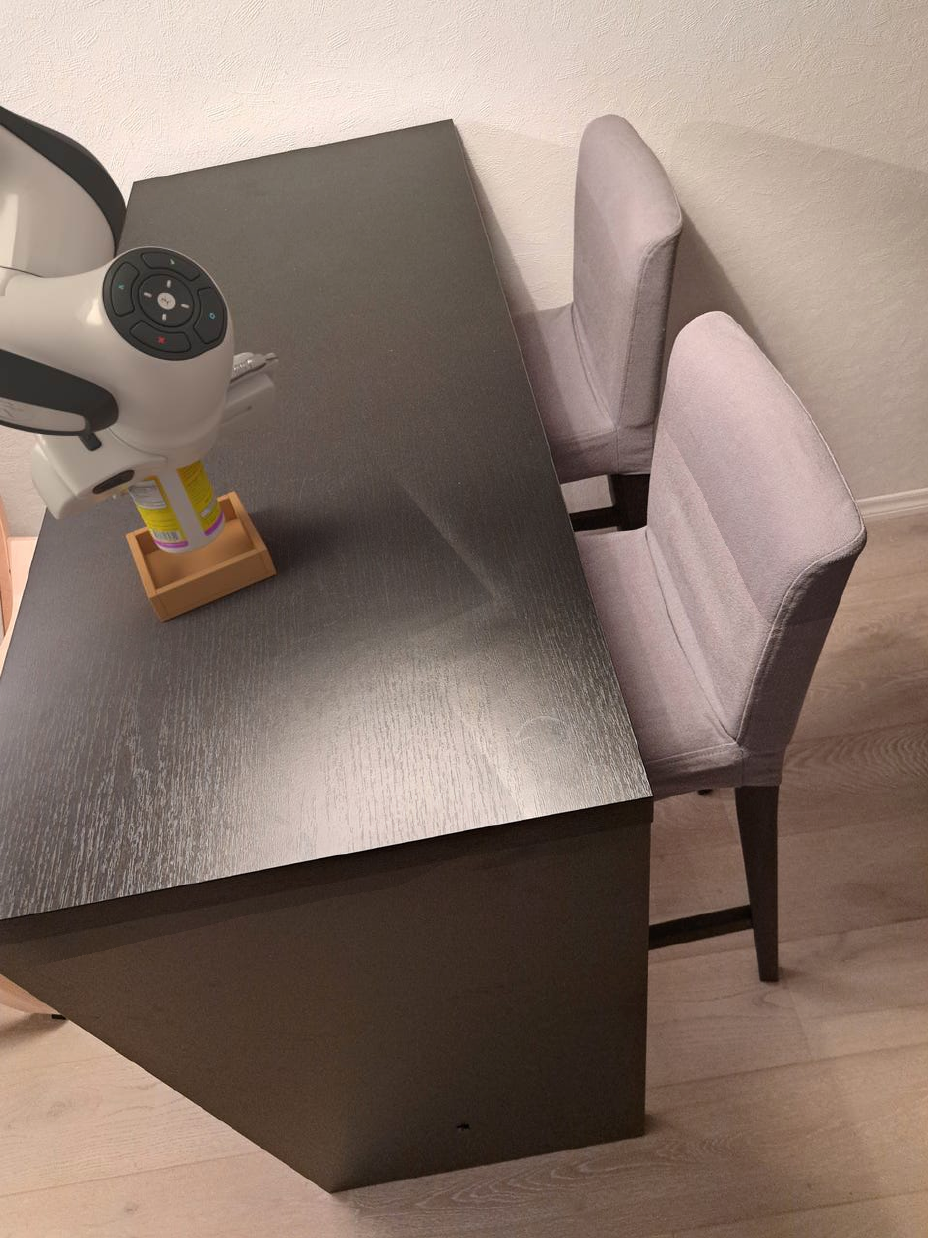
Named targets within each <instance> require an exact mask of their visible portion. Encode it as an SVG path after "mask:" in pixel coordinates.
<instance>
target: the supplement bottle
mask: <svg viewBox="0 0 928 1238" xmlns="http://www.w3.org/2000/svg"><path fill="white" fill-rule="evenodd" d="M130 487H131V489H130V490H131V492H129V494H130V496H131V498H132V500H133V502H134V504H135V506H136V508H137V510H138V512H139V514H140V516H141V518H142V520H143V522H144V523H145V525H146V526H147V528H148V530H149V532H150V534H151V536H152V537H153V539H154V541H155V543H156V544H157V546H158V547H159V548H161V549H162V550H164V551H166V552H168V553H173V554H183V553H189V552H193V551H196V550H198V549H201V548H203V547H205V546H207V545H208V544H210V543H211V542H213V541H214V540H215V539H216V538H217V537H218V536H219V535H220V534H221V532H222V530H223V528H224V525H225V517H224V514H223V512H222V509H221V507H220V504H219V502H218V500H217V498H218V497H217V495H216V493H215V491H214V488H213V486H212V484H211V481H210V479H209V476H208V474H207V472H206V470H205V467H204V465H203V462H202V461H201V459H199V460H198V461H196V462H194V463H193V464H190V465H188V466H185V467H182V468H178V469H172V470H163V471H161V472H159V473H156V474H154V475H152V476H150V477H148V478H146V479H144V480H142V481H140V482H138V483H136V484H134V485H132V486H130ZM146 526H145V527H146Z"/></svg>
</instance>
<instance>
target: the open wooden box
mask: <svg viewBox="0 0 928 1238" xmlns="http://www.w3.org/2000/svg"><path fill="white" fill-rule="evenodd" d="M216 498H217V500H218V502H219V504H220V507H221V509H222V512H223V514H224V517H225V525H224V528H223V530H222V532H221V534H220V535H219V536H218V537H217V538H216V539H215V540H214V541H213V542H211V543H210V544H208V545H207V546H205V547H203V548H201V549H198V550H196V551H193V552H189V553H183V554H173V553H168V552H166V551H164V550H162V549H161V548H159V547H158V546H157V544H156V543H155V541H154V539H153V537H152V536H151V534H150V532H149V530H148V528H147V526H144V527H141V528H139V529H135V530H134V531H132V532H128V533H126V534H125V537H126V539H127V543H128V546H129V548H130V551H131V554H132V556H133V559H134V562H135V565H136V567H137V570H138V573H139V576H140V578H141V581H142V585H143V587H144V589H145V592H146V595H147V597H148V601H149V602H150V604H151V606H152V607H153V609H154V612H155V613H156V615H157V617H158V619H159V621H160V622H161V623H164V622H166V621H168V620H171V619H173V618H176V617H178V616H180V615H183V614H185V613H187V612H190V611H193V610H195V609H197V608H200V607H201V606H204V605H206V604H209V603H211V602H213V601H215V600H219V599H220V598H223V597H225V596H228V595H230V594H232V593H234V592H237V591H239V590H241V589H244V588H246V587H249V586H251V585H253V584H255V583H258V582H260V581H263V580H265V579H268V578H270V577H273V576H274V575H277V569H276V568H275V566H274V563H273V560H272V558H271V555H270V553H269V550H268V548H267V546H266V544H265V543H264V541H263V539H262V537H261V536H260V534H259V531H258V530H257V528H256V527H255V524H254V523H253V521H252V519H251V517H250V516H249V514H248V512H247V511H246V509H245V507H244V505H243V504H242V501H241V500H240V498H239V496H238V494H237V492H236V491H234V490H233V491H231V492H228V493H227V494H226V493H225V494H223V495H222V496H219V497H216Z"/></svg>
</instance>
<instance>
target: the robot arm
mask: <svg viewBox="0 0 928 1238" xmlns="http://www.w3.org/2000/svg"><path fill="white" fill-rule="evenodd" d="M126 219H127V205H126V202H125V198H124V196H123V194H122V191H121V190H120V188H119V186H118V185H117V183H116V182H115V180H114V179H113V177H112V175H111V174H110V173H109V171H108V170H107V169H106V168H105V166H104V165H103V163H102V162H101V161H100V160H99V159H98V158H97V157H96V155H94V154H93V153H92V152H91V151H90V150H89V149H87V148H86V147H85V146H84V145H83V144H81V143H80V142H78V141H77V140H75V139H73V138H72V137H70V136H69V135H67V134H64V133H62V132H61V131H58V130H56V129H53V128H51V127H49V126H47V125H44V124H42V123H39V122H37V121H34V120H33V119H30V118H28V117H25V116H22V115H20V114H17V113H15V112H14V111H11V110H9V109H7V108H6V107H4V106H2V105H0V426H2V427H5V428H10V429H12V430H18V431H21V432H25V433H31V434H33V435H34V437H35V440H36V442H35V444H34V445H33V447H32V448H31V451H30V453H29V454H30V455H29V472H30V478H31V483H32V485H33V487H34V489H35V491H36V492H37V493H38V496H39V497H40V498H41V500H42V501H43V503H44V505H45V506H46V507H47V509H48V510H49V512H50V513H51V514H52V516H53V517H54V519H56V520H57V521H63V520H67V519H70V518H73V517H75V516H76V515H78V514H81V513H82V512H85V511H86V510H88V509H89V508H91V507H94V506H96V505H97V504H100V503H101V502H104V501H105V500H108V499H109V498H111V497H112V498H113V499H114V500H118V499H120V498H122V497H124V496H125V495H127V494H130V492H131V490H130V489H131V487H130V486H132V485H134V484H136V483H138V482H140V481H142V480H144V479H146V478H148V477H150V476H152V475H154V474H156V473H159V472H161V471H163V470H172V469H178V468H182V467H185V466H188V465H190V464H193V463H194V462H196V461H198V460H199V459H200V460H201V459H202V458H203V457H204V456H206V455H207V454H208V453H209V452H211V451H213V447H214V446H215V444H216V443H217V442H220V441H222V440H224V439H225V438H227V437H229V436H231V435H233V434H236V433H238V432H239V431H242V430H243V429H245V428H246V427H249V426H251V425H252V424H254V423H257V422H259V421H260V420H262V419H264V418H265V417H266V416H268V415H269V414H270V413H271V412H272V411H273V410H274V409H275V406H276V401H277V389H276V385H275V383H274V381H272V379H271V378H272V377H273V376H274V375H275V373H276V372H277V371H278V367H279V363H280V362H279V358H278V355H276V354H275V353H274V352H270V353H268V354H266V355H263V354H262V353H256V354H254V353H253V352H242V353H238V354H236V355H235V330H234V323H233V317H232V314H231V310H230V308H229V304H228V302H227V300H226V298H225V297H226V296H225V295H224V294H223V291H222V290H221V289H220V287H219V285H218V284H217V283H216V281H215V280H214V279H213V277H212V276H211V275H210V274H209V273H208V272H207V270H206V269H204V268H203V267H202V265H200V264H199V263H198V262H196V261H195V260H193V259H192V258H190V257H189V256H188V255H185V254H184V253H181V252H179V251H177V250H174V249H171V248H167V247H164V246H153V245H150V246H149V245H148V246H147V245H146V246H139V247H135V248H131V249H129V250H125V251H124V252H122V253H120V254H119V255H117V254H118V251H119V247H120V243H121V239H122V234H123V231H124V226H125V223H126Z"/></svg>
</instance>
